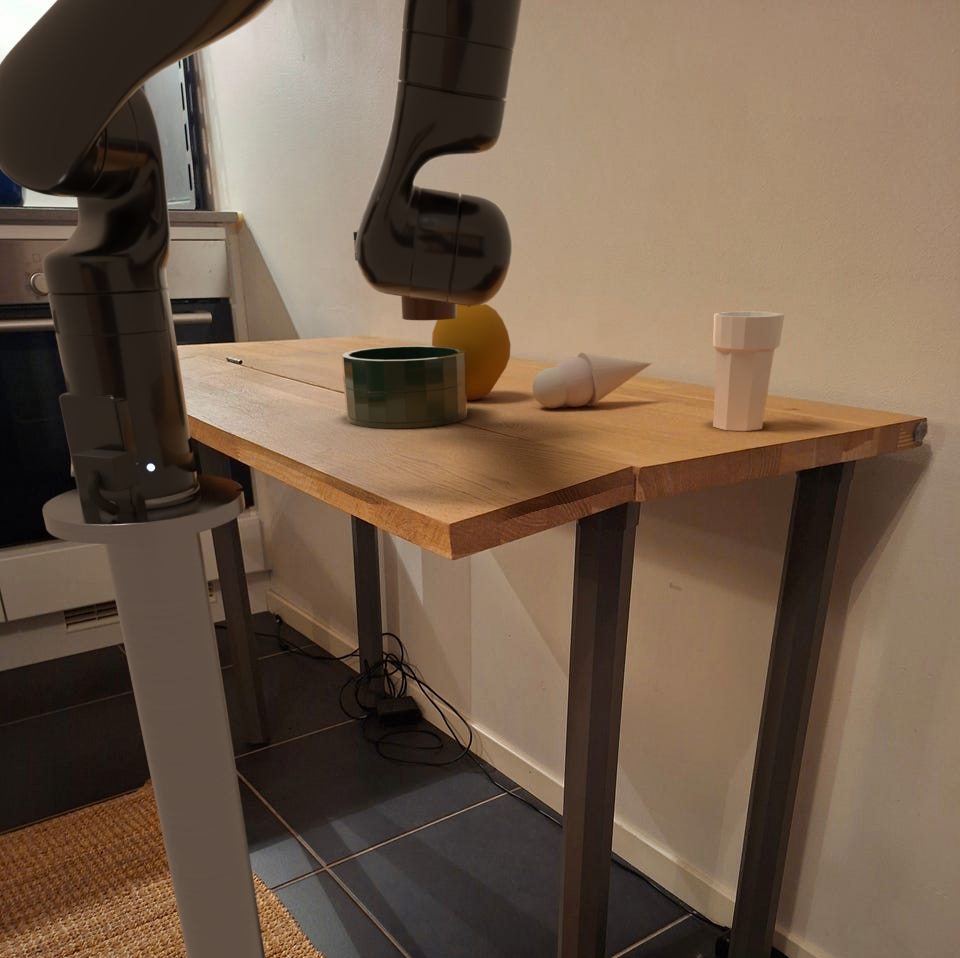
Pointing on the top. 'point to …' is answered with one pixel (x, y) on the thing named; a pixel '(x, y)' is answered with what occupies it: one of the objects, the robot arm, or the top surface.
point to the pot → (405, 386)
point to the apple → (477, 345)
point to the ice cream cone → (583, 380)
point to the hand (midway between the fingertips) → (425, 243)
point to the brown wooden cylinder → (427, 309)
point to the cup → (743, 367)
